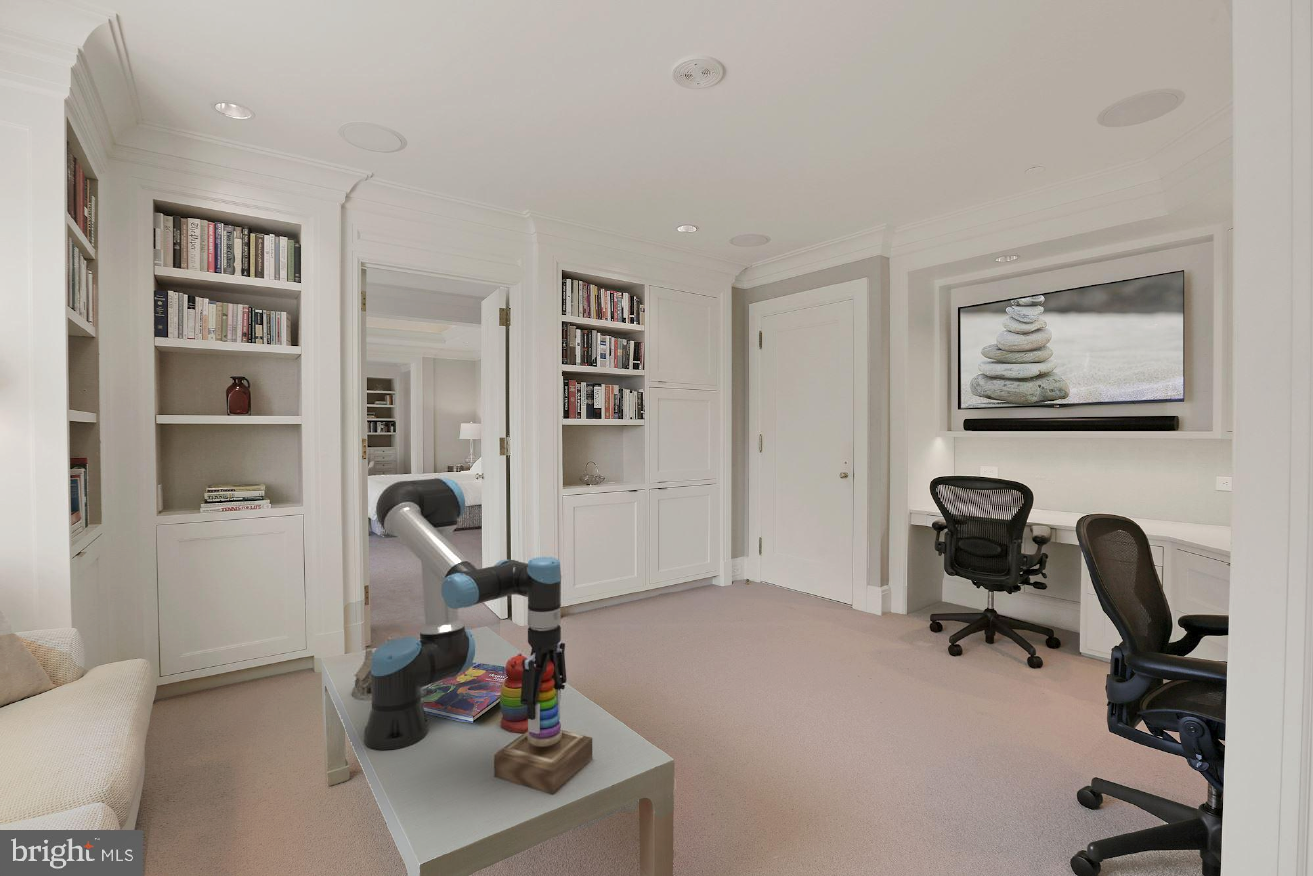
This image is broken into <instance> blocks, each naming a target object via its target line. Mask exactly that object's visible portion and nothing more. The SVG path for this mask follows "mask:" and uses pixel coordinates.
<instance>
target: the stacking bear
mask: <svg viewBox="0 0 1313 876" xmlns="http://www.w3.org/2000/svg"><path fill="white" fill-rule="evenodd" d="M523 659H528V657H526V656H524V655H522V653H521V652H519V653H518V654H516V655H515V656H512V657H511V658H509V659H508V660H507V662H506V663H505V675H506V679H505V680H504V682H503V684H502V685H501V690H500V694H499V705H500V706H499V707H500V710H501V715H502V716H501V719H500V726H501V727H502V728H503V729H505V730H506V731H509V732H511V733H516V734H524V733H525V732H527V731H528V718H527V705H523V704H521V703H520V700H521V688H522V676H523V667H522V660H523Z"/></svg>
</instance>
